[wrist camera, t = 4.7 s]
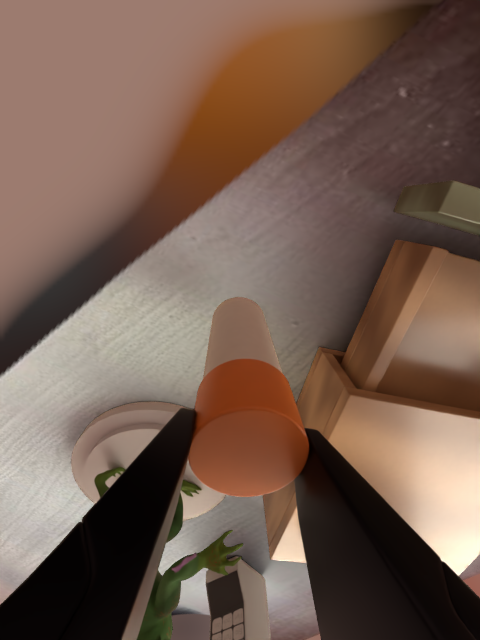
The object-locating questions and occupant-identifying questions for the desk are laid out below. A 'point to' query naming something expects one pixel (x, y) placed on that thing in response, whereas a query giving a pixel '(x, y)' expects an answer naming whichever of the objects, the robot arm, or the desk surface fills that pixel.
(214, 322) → the glue stick
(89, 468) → the monster figurine
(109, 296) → the desk surface
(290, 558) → the cabinet
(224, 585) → the vintage mobile phone
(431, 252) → the drawer
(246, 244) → the desk surface
